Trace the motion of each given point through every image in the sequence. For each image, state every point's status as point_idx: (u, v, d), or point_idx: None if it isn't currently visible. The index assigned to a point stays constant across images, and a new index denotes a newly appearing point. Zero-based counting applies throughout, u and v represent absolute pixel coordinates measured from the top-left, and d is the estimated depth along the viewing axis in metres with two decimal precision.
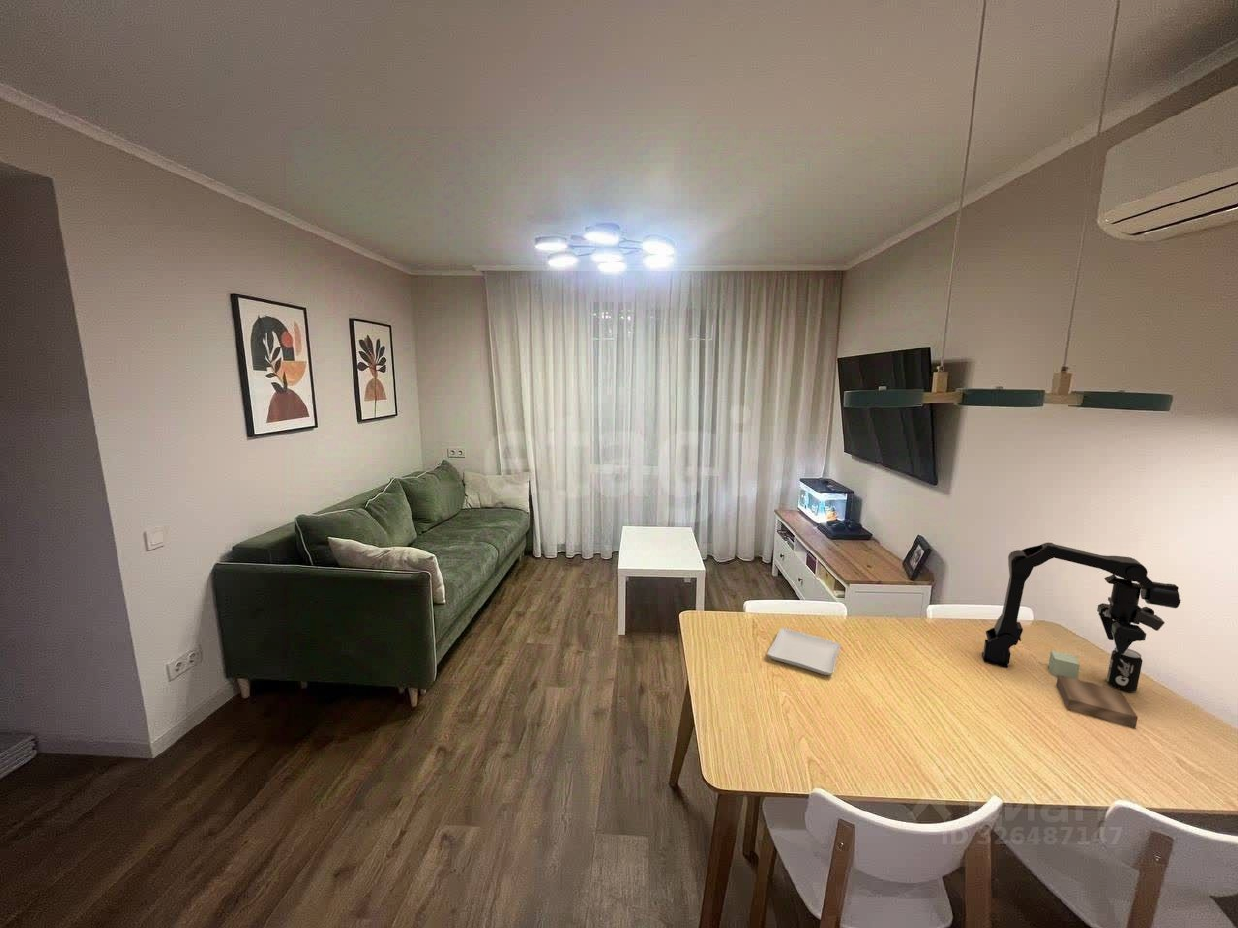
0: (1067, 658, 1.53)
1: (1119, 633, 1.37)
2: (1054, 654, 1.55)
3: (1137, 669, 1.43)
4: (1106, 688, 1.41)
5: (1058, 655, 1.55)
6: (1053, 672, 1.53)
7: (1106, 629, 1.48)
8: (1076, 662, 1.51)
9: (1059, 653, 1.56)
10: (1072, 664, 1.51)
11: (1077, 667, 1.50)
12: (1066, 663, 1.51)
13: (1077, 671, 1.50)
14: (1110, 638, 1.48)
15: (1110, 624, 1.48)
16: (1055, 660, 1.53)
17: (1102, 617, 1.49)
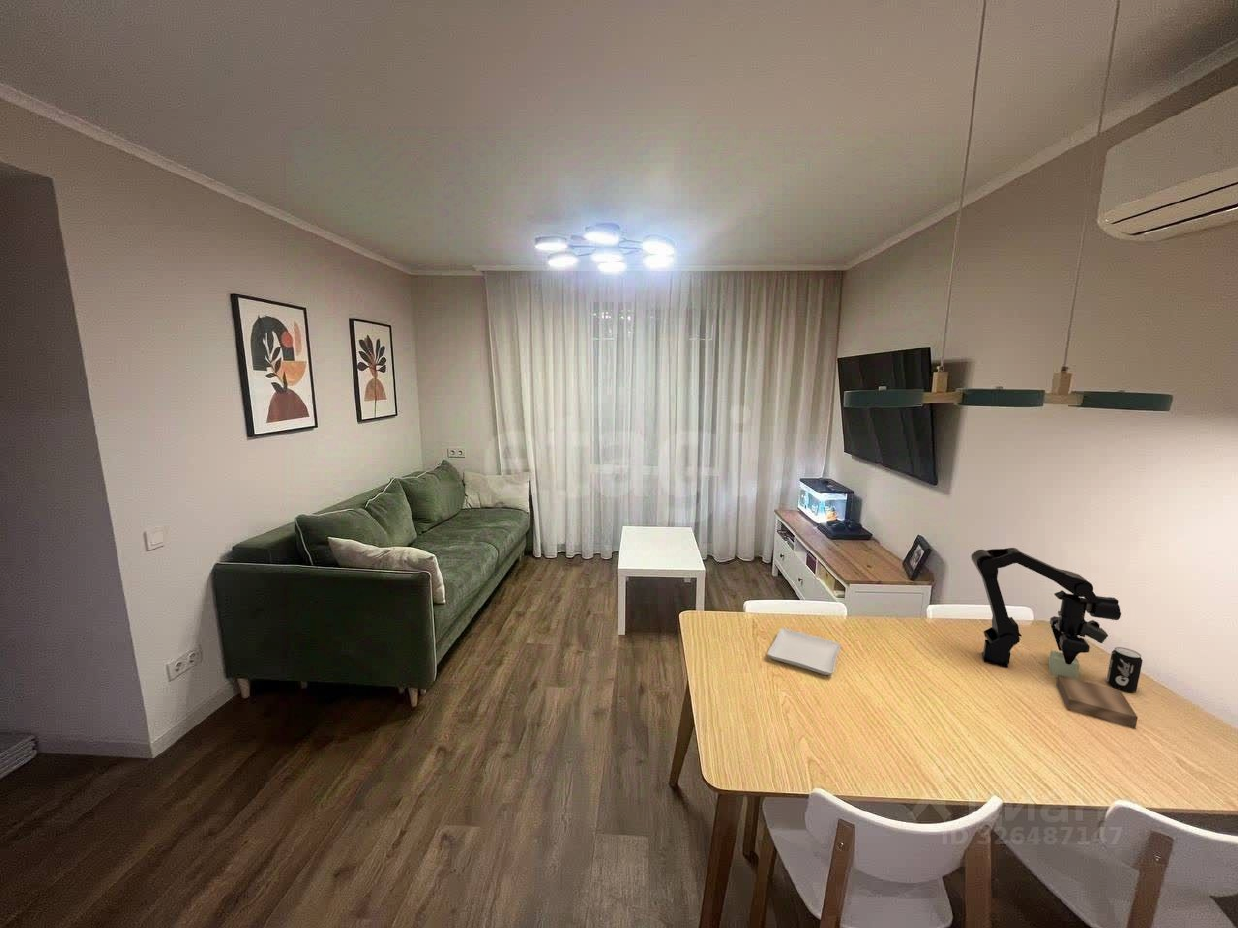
0: None
1: (1065, 645, 1.46)
2: (1054, 654, 1.55)
3: (1137, 669, 1.43)
4: (1106, 688, 1.41)
5: (1058, 655, 1.55)
6: (1053, 672, 1.53)
7: (1057, 641, 1.58)
8: (1076, 662, 1.51)
9: (1059, 653, 1.56)
10: (1072, 664, 1.51)
11: (1077, 667, 1.50)
12: None
13: (1077, 671, 1.50)
14: (1061, 649, 1.57)
15: (1061, 636, 1.57)
16: (1055, 660, 1.53)
17: (1053, 629, 1.58)
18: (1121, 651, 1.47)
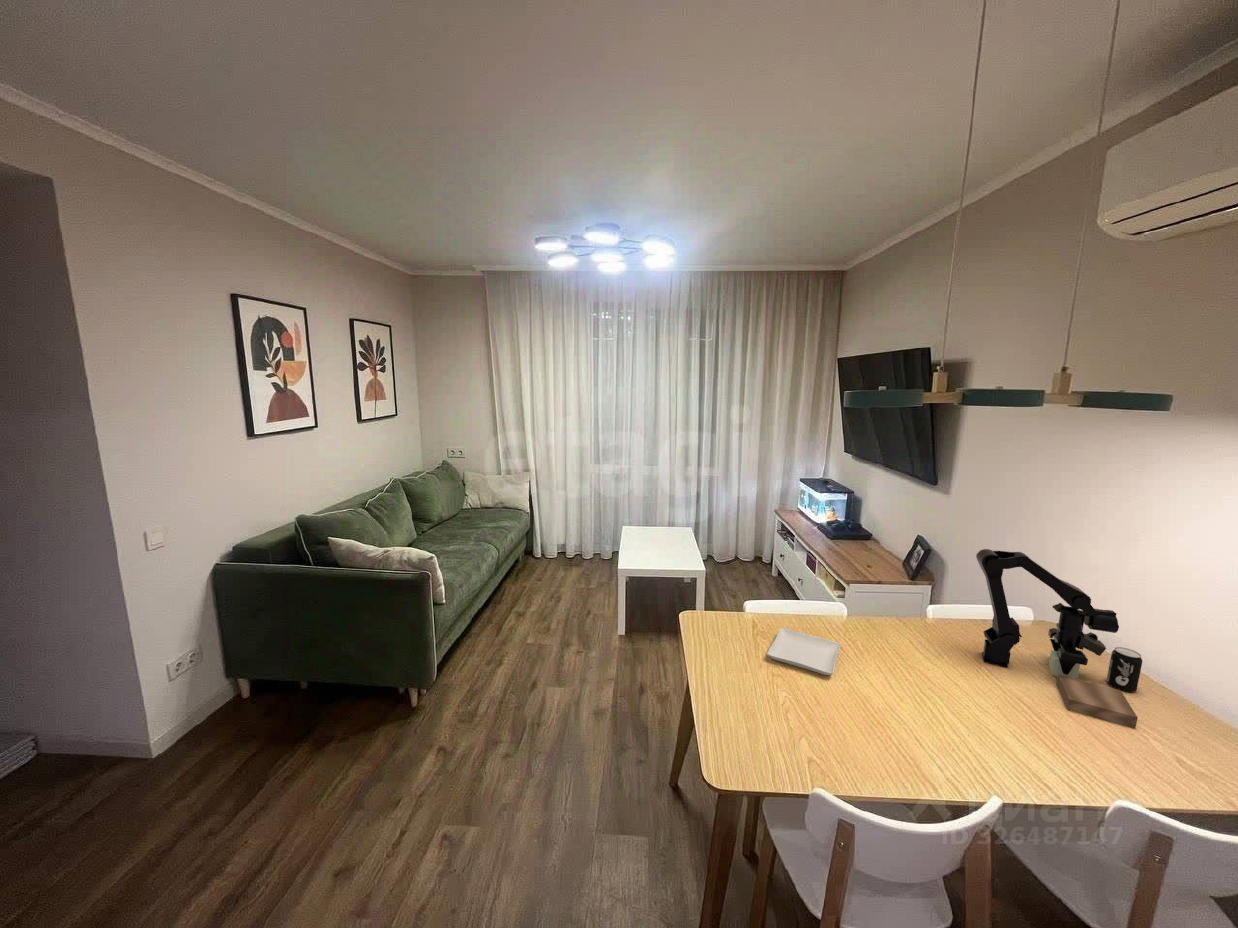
0: None
1: (1064, 658, 1.47)
2: (1054, 654, 1.55)
3: (1137, 669, 1.43)
4: (1106, 688, 1.41)
5: None
6: (1053, 672, 1.53)
7: None
8: None
9: None
10: None
11: (1077, 667, 1.50)
12: None
13: (1077, 671, 1.50)
14: None
15: None
16: (1055, 660, 1.53)
17: (1053, 643, 1.58)
18: (1121, 651, 1.47)
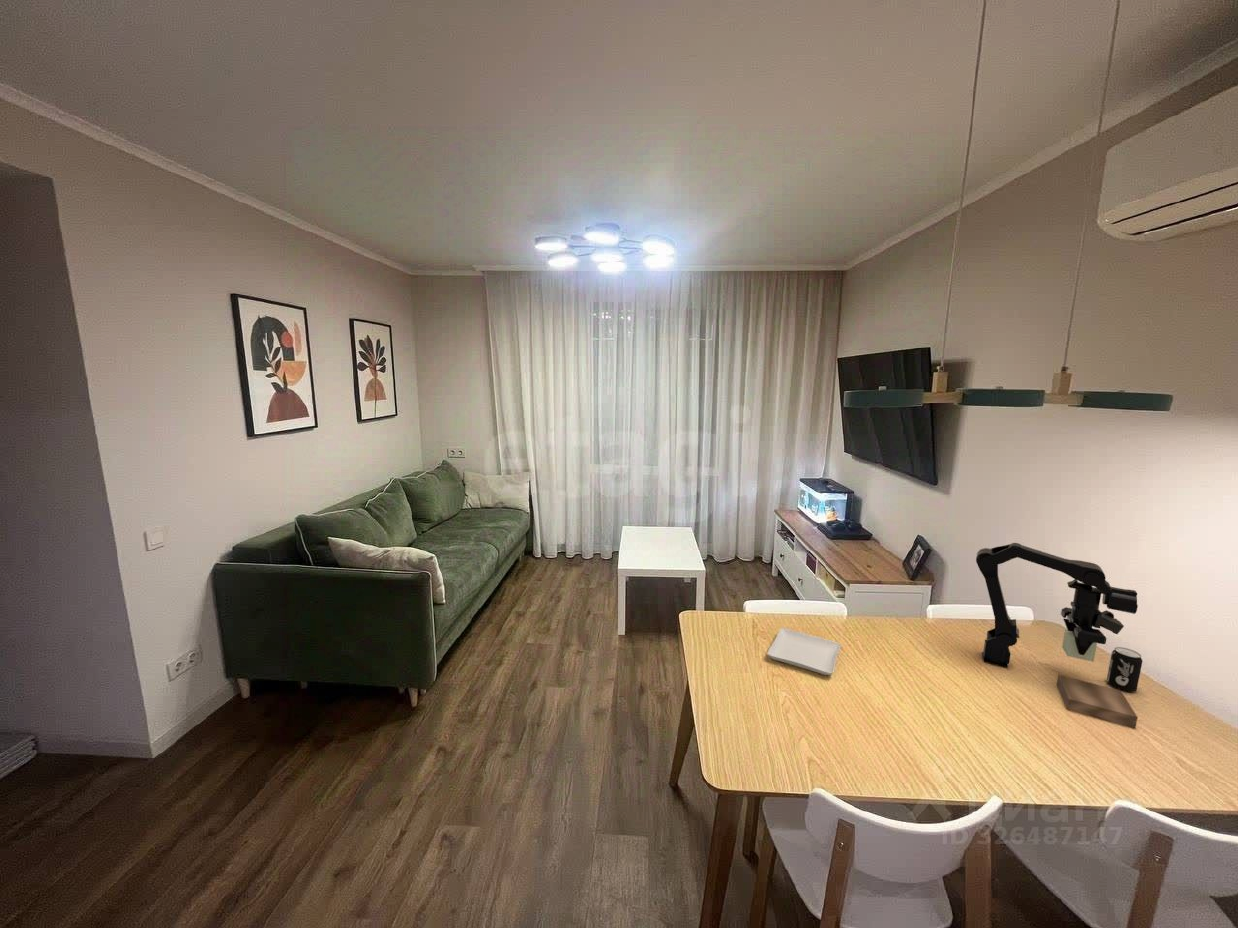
0: None
1: (1081, 637, 1.40)
2: (1069, 634, 1.49)
3: (1137, 669, 1.43)
4: (1106, 688, 1.41)
5: None
6: (1068, 652, 1.47)
7: None
8: None
9: None
10: None
11: (1094, 646, 1.43)
12: None
13: (1094, 651, 1.44)
14: None
15: None
16: (1071, 640, 1.46)
17: (1067, 623, 1.51)
18: (1121, 651, 1.47)
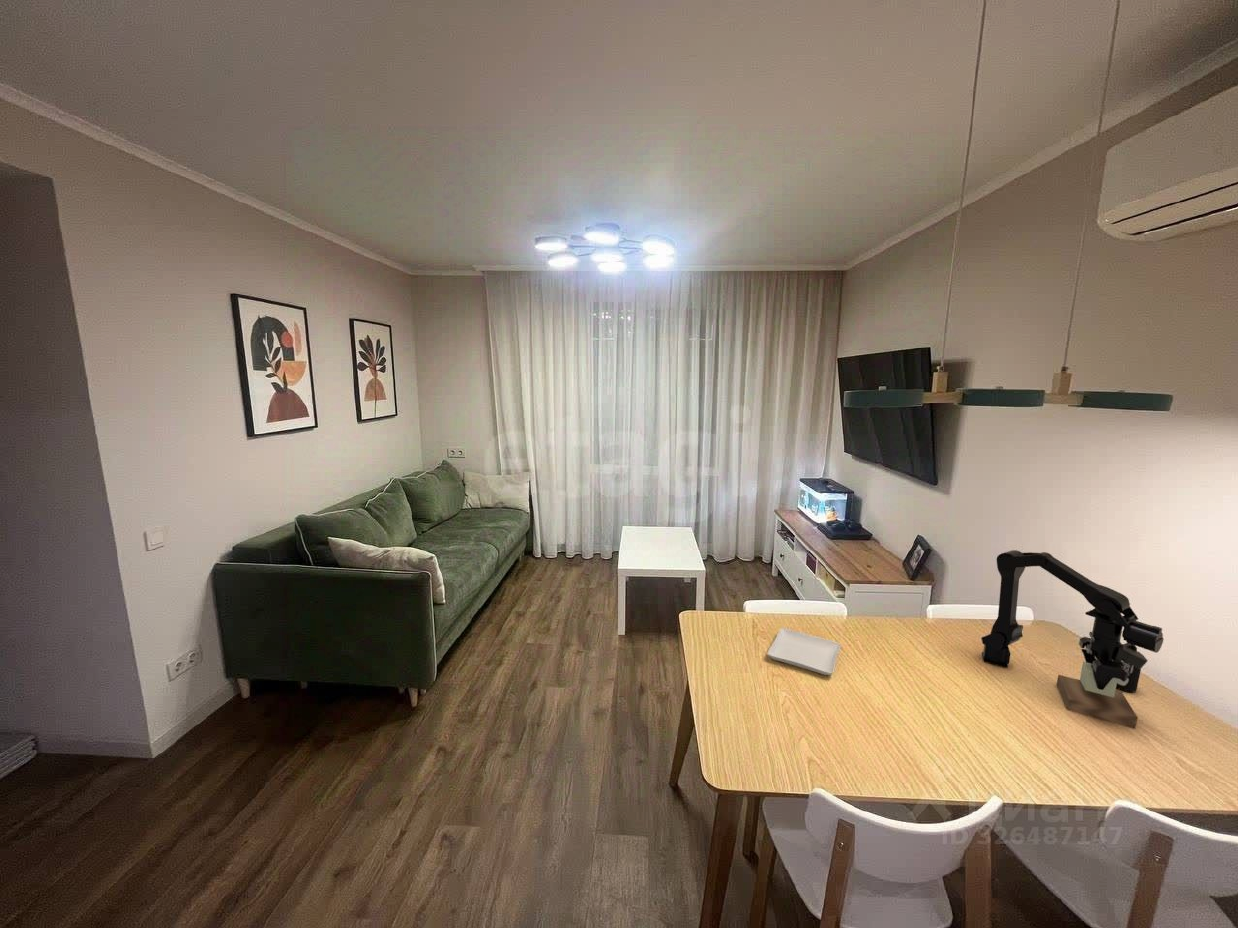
0: None
1: (1100, 672, 1.30)
2: (1087, 666, 1.39)
3: (1137, 669, 1.43)
4: None
5: None
6: (1086, 686, 1.37)
7: None
8: None
9: None
10: None
11: (1114, 681, 1.34)
12: None
13: (1114, 686, 1.34)
14: None
15: None
16: (1089, 673, 1.37)
17: (1085, 654, 1.41)
18: None
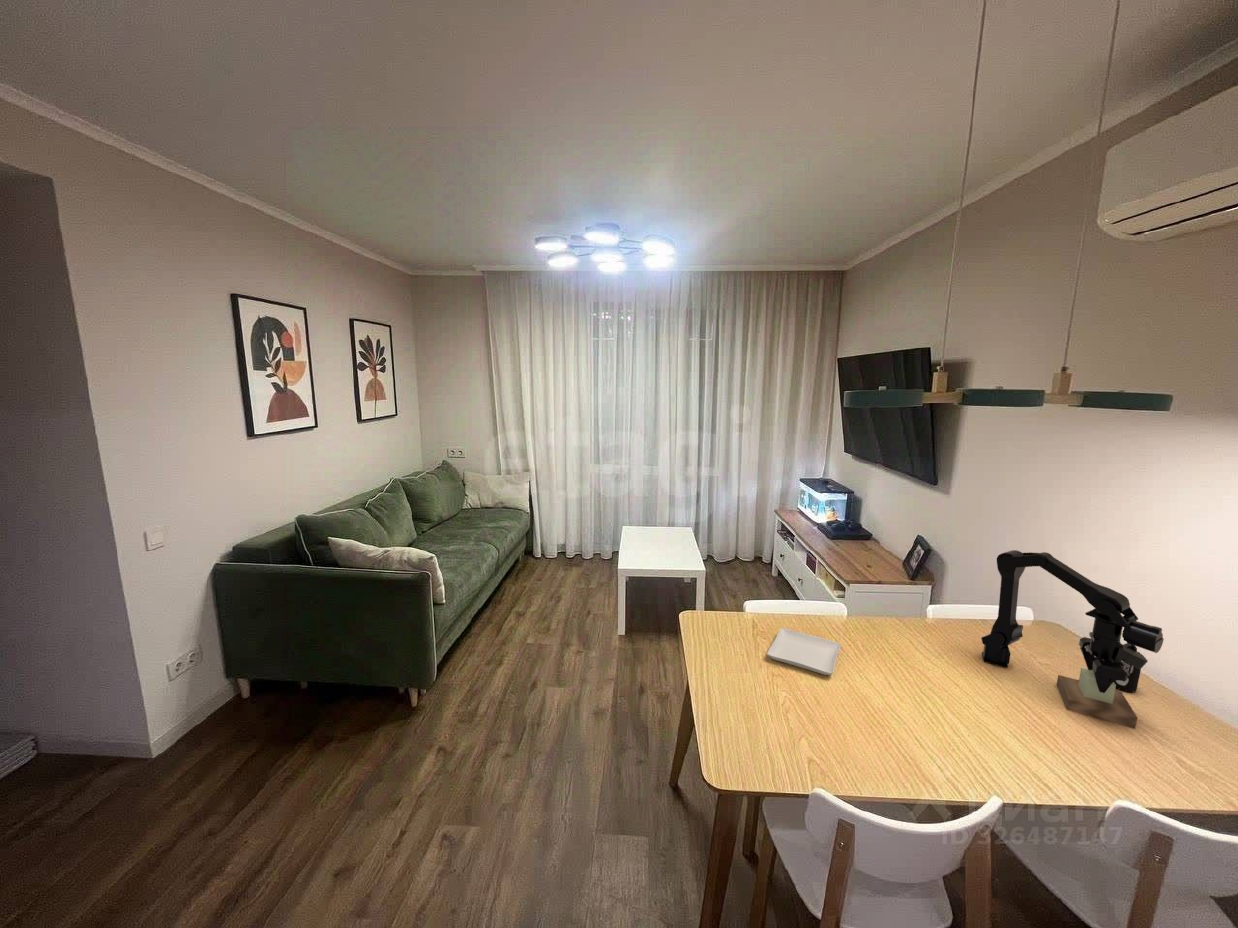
0: None
1: (1100, 672, 1.30)
2: (1085, 673, 1.39)
3: (1137, 669, 1.43)
4: None
5: (1090, 674, 1.39)
6: (1085, 693, 1.38)
7: (1088, 665, 1.42)
8: None
9: (1091, 671, 1.40)
10: None
11: (1113, 688, 1.34)
12: None
13: (1113, 692, 1.34)
14: None
15: (1092, 660, 1.42)
16: (1088, 680, 1.37)
17: (1084, 652, 1.43)
18: None
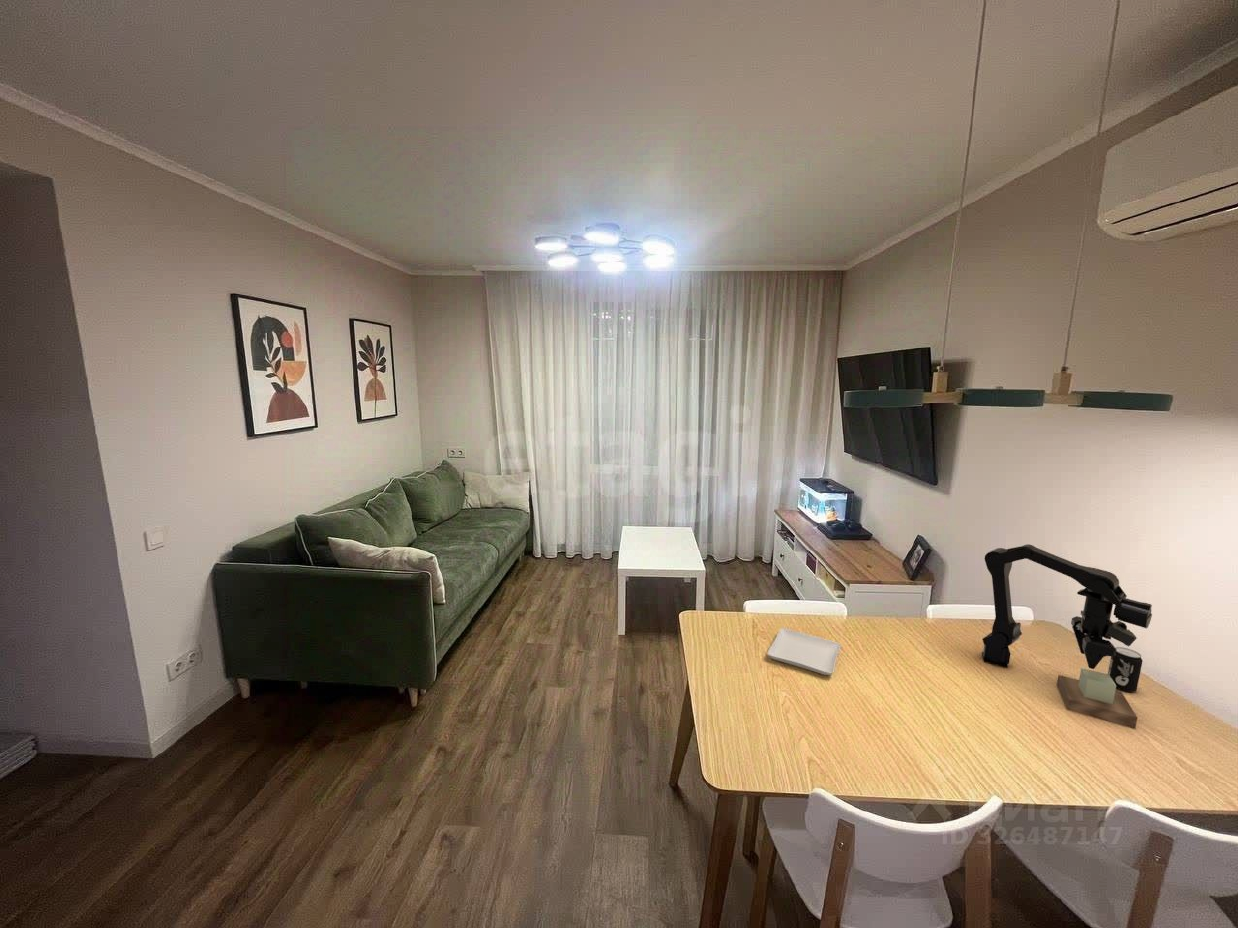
0: (1101, 677, 1.37)
1: (1089, 648, 1.34)
2: (1086, 673, 1.39)
3: (1137, 669, 1.43)
4: None
5: (1090, 674, 1.39)
6: (1085, 693, 1.37)
7: (1079, 643, 1.46)
8: (1112, 682, 1.35)
9: (1091, 672, 1.40)
10: (1108, 685, 1.34)
11: (1113, 688, 1.34)
12: (1100, 684, 1.35)
13: (1113, 692, 1.34)
14: (1083, 652, 1.45)
15: (1083, 638, 1.45)
16: (1088, 680, 1.37)
17: (1075, 630, 1.46)
18: (1121, 651, 1.47)
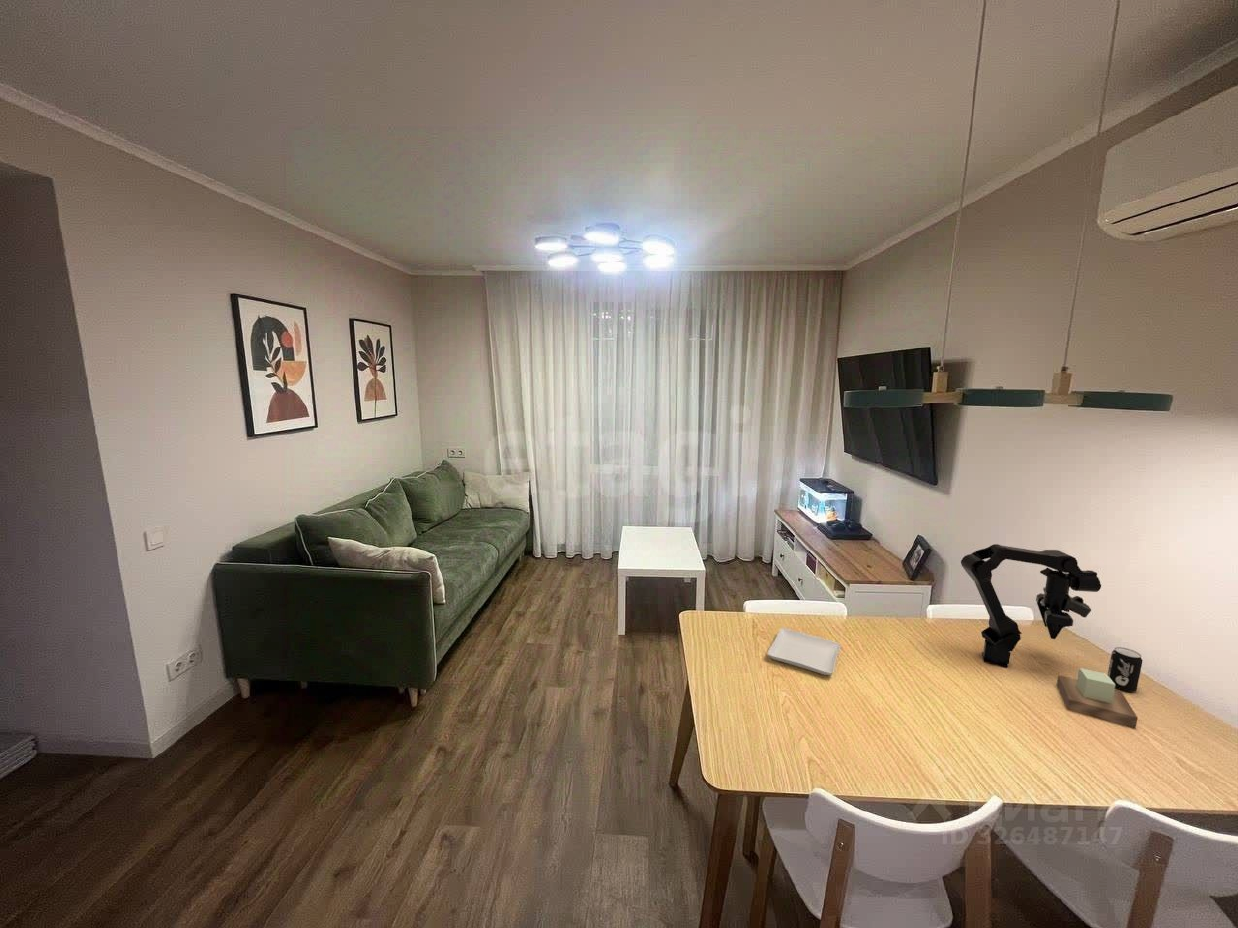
0: (1099, 677, 1.37)
1: (1050, 620, 1.50)
2: (1084, 673, 1.39)
3: (1137, 669, 1.43)
4: None
5: (1089, 674, 1.39)
6: (1085, 693, 1.37)
7: (1043, 617, 1.61)
8: (1110, 682, 1.35)
9: (1089, 671, 1.40)
10: (1107, 684, 1.35)
11: (1112, 687, 1.34)
12: (1099, 683, 1.35)
13: (1112, 692, 1.34)
14: (1046, 625, 1.61)
15: None
16: (1087, 680, 1.37)
17: (1039, 606, 1.62)
18: (1121, 651, 1.47)
